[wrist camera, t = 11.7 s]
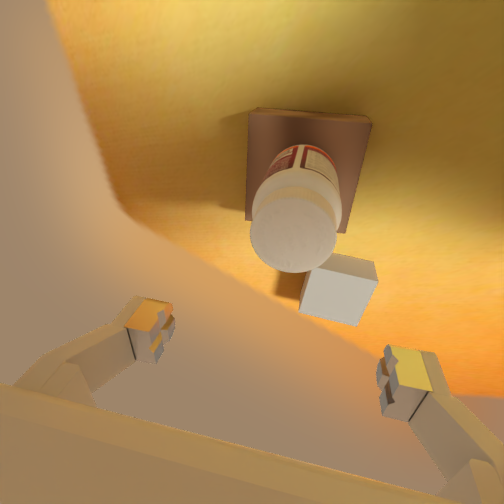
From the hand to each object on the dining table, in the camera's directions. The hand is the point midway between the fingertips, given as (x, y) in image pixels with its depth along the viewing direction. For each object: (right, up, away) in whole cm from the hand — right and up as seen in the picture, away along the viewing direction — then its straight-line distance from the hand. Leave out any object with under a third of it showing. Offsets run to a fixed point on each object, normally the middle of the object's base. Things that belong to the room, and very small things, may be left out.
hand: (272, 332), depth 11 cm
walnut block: (+4, +12, +19) cm, 23 cm away
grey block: (+10, 0, +26) cm, 27 cm away
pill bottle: (+4, +10, +16) cm, 19 cm away
